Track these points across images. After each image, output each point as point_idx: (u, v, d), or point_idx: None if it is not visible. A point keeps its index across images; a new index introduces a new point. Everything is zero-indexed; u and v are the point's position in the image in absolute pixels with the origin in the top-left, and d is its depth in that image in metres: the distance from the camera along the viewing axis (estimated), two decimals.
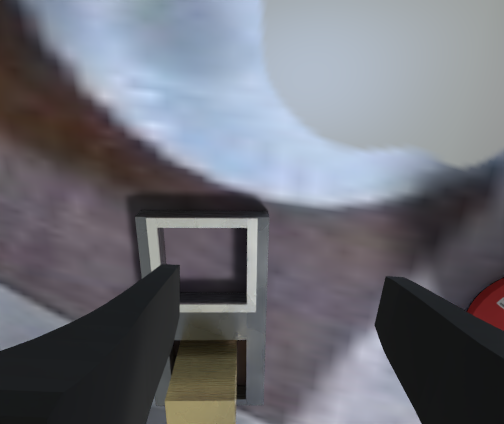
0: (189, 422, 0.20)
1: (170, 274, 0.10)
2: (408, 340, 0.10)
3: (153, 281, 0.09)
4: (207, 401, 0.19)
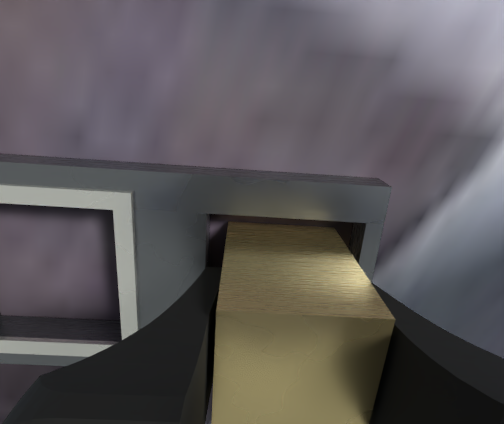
0: (281, 406, 0.08)
1: None
2: None
3: (207, 284, 0.09)
4: (216, 367, 0.08)
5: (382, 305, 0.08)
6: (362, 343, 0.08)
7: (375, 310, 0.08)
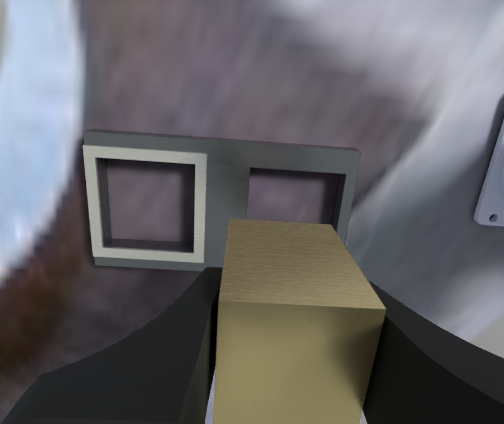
0: (280, 391, 0.09)
1: (221, 277, 0.10)
2: None
3: (207, 284, 0.09)
4: (218, 355, 0.08)
5: (374, 297, 0.08)
6: (355, 331, 0.08)
7: (367, 300, 0.08)
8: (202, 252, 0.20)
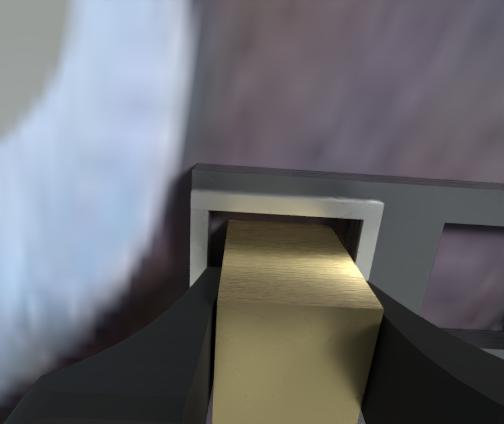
0: (278, 391, 0.09)
1: None
2: None
3: (208, 284, 0.09)
4: (217, 354, 0.08)
5: (372, 297, 0.08)
6: (353, 331, 0.08)
7: (365, 300, 0.08)
8: None
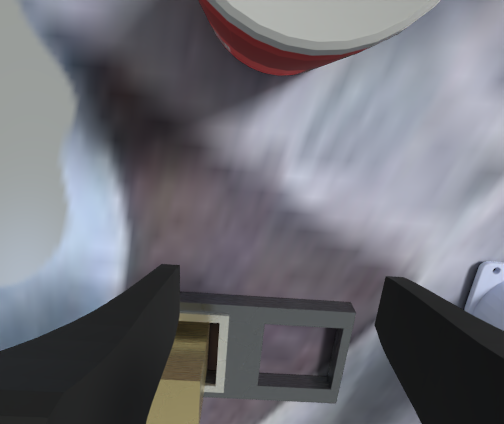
0: (159, 415, 0.19)
1: (170, 274, 0.10)
2: (408, 339, 0.10)
3: (153, 281, 0.09)
4: None
5: (199, 374, 0.19)
6: (188, 390, 0.19)
7: (194, 376, 0.19)
8: (222, 384, 0.24)
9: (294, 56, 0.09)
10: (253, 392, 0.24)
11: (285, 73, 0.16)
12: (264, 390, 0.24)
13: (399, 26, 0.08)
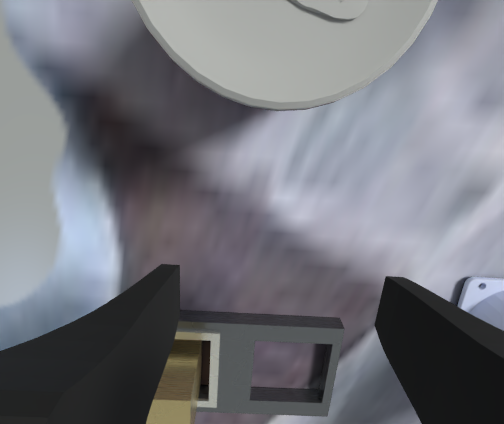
0: None
1: (170, 274, 0.10)
2: (408, 339, 0.10)
3: (153, 281, 0.09)
4: None
5: (190, 393, 0.19)
6: (179, 409, 0.19)
7: (185, 395, 0.19)
8: (215, 399, 0.24)
9: None
10: (246, 406, 0.25)
11: None
12: (256, 404, 0.25)
13: (356, 86, 0.08)
